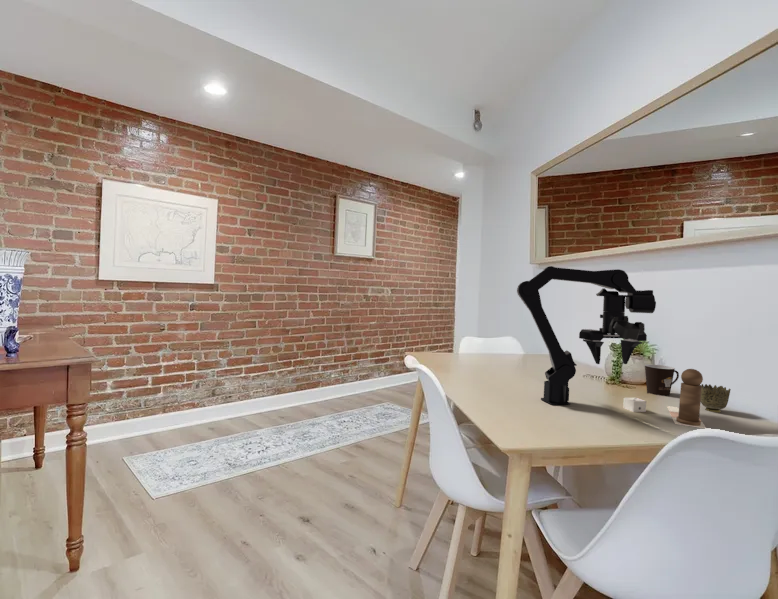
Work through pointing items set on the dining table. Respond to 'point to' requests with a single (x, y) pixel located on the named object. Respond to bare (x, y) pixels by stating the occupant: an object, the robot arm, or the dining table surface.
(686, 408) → the pawn
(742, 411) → the dining table surface
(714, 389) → the cup
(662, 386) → the coffee mug
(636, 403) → the die
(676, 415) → the board
